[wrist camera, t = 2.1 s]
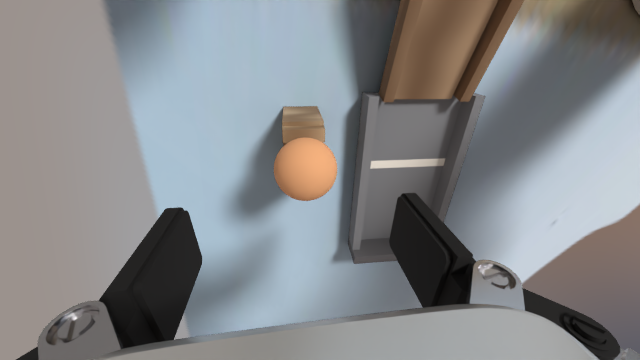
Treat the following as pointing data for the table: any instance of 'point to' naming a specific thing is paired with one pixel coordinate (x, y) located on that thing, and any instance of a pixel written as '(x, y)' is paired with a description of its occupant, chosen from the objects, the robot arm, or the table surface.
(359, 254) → the lane
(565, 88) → the table surface
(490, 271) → the robot arm
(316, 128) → the wooden upright block
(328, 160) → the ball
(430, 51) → the ramp
